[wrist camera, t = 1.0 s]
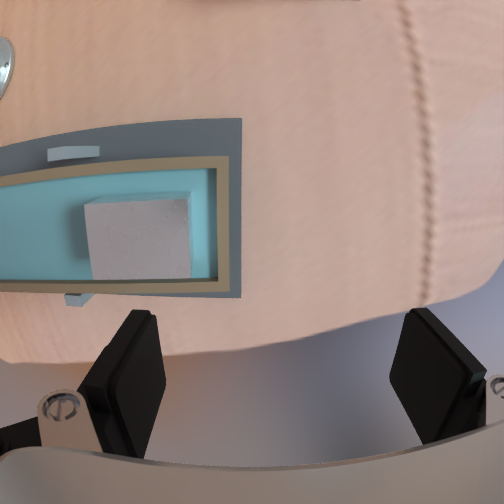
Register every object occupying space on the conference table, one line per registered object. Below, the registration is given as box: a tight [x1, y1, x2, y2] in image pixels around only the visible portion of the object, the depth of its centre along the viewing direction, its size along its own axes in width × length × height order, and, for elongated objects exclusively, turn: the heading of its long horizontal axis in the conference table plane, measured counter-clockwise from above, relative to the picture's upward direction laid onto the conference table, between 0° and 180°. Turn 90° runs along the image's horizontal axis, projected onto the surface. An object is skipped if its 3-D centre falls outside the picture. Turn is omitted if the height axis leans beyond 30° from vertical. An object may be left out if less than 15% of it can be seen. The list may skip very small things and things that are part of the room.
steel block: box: [84, 191, 194, 280], centre depth 25 cm, size 8×6×5 cm
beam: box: [0, 156, 230, 294], centre depth 27 cm, size 32×12×3 cm, turn 89°
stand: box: [0, 118, 242, 307], centre depth 31 cm, size 34×20×9 cm, turn 89°
